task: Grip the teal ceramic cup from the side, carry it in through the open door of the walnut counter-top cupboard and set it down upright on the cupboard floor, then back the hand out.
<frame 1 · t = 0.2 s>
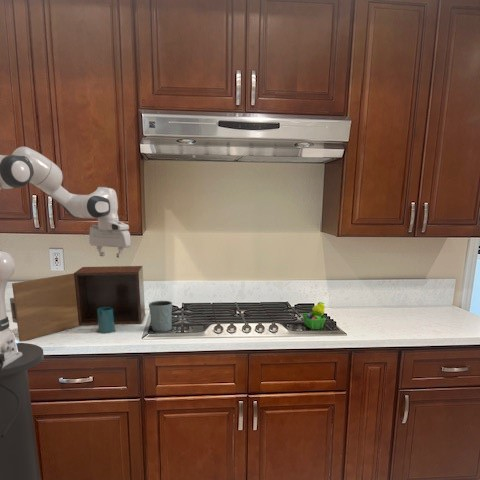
hand: (110, 256, 207), 31 cm above the kitchen counter, tool pointing down, fingers open, 8 cm apart
cup: (106, 330, 205), on the kitchen counter
cupboard door: (43, 305, 200), point 12 cm above the kitchen counter, hinge at 130.0°
fruit basket: (314, 327, 212), on the kitchen counter
cupboard: (113, 319, 223), on the kitchen counter
grey mug: (161, 329, 208), on the kitchen counter
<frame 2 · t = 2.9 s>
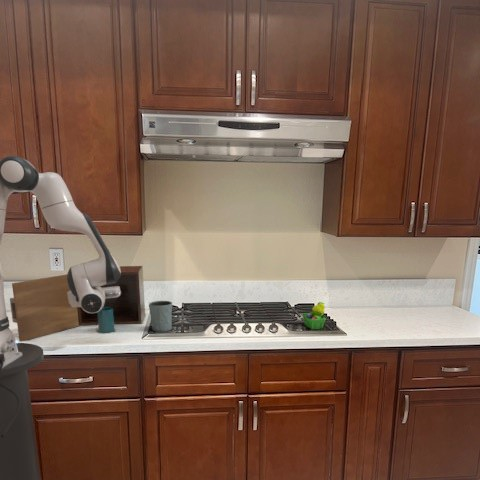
hand: (94, 291, 190), 20 cm above the kitchen counter, tool horizontal, fingers open, 8 cm apart
nothing on the kitchen counter moved.
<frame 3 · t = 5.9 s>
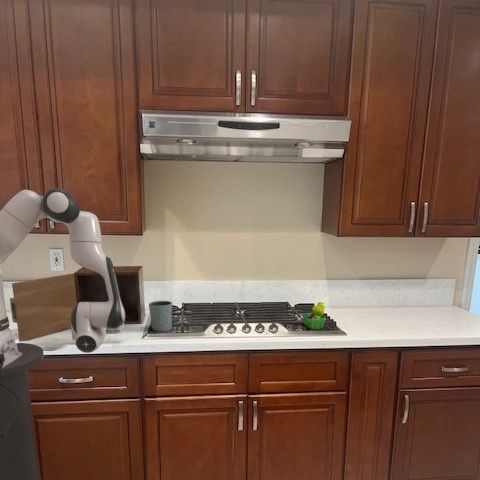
hand: (101, 322, 193), 7 cm above the kitchen counter, tool horizontal, fingers open, 8 cm apart
nothing on the kitchen counter moved.
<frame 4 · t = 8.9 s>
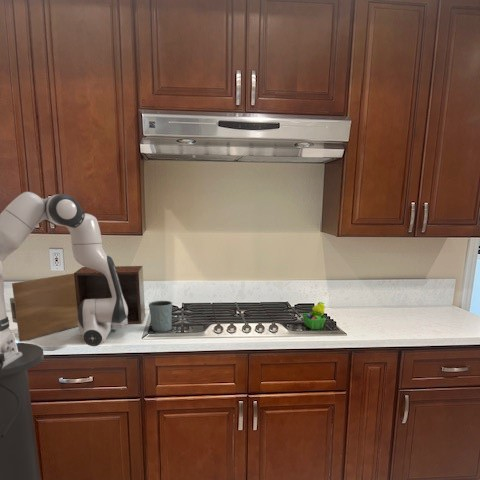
hand: (105, 318, 205), 6 cm above the kitchen counter, tool horizontal, fingers closed on cup, 7 cm apart
cup: (106, 330, 205), on the kitchen counter, touching gripper
everything else where it was.
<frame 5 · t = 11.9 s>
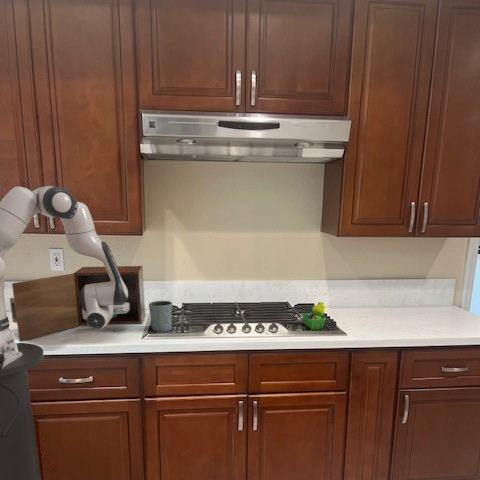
hand: (108, 304, 211), 10 cm above the kitchen counter, tool horizontal, fingers closed on cup, 7 cm apart
cup: (109, 316, 212), point 4 cm above the kitchen counter, touching gripper
everything else where it was.
when the fingers open (7 cm above the kitchen counter, at t = 15.2 s): cup stays where it is, resting on cupboard.
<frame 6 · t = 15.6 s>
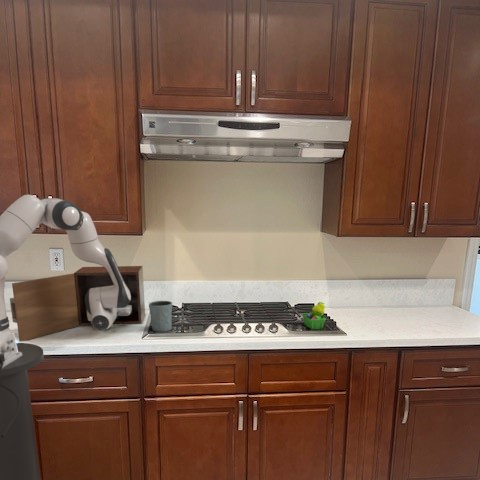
hand: (111, 306, 220), 7 cm above the kitchen counter, tool horizontal, fingers open, 8 cm apart
cup: (112, 318, 221), point 1 cm above the kitchen counter, touching cupboard
everything else where it was.
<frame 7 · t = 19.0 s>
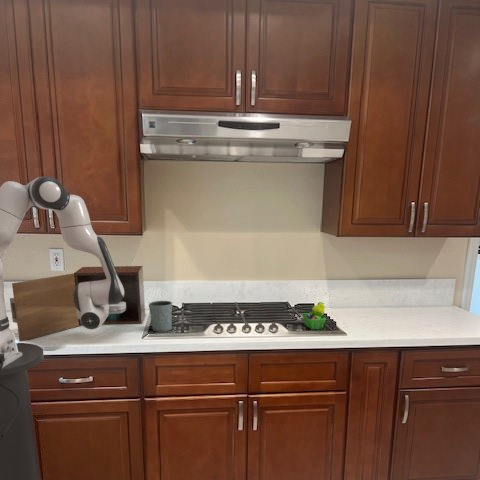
hand: (104, 303, 202), 12 cm above the kitchen counter, tool horizontal, fingers open, 8 cm apart
nothing on the kitchen counter moved.
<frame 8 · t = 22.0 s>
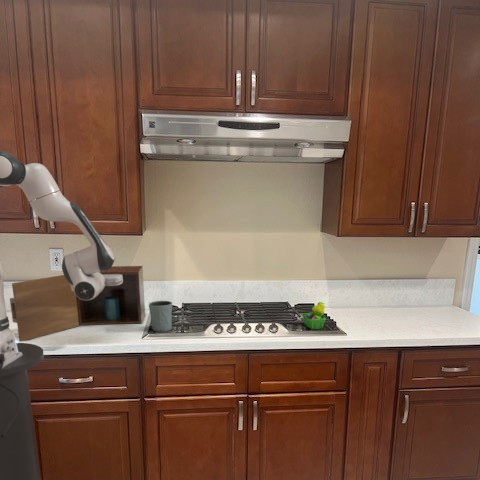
hand: (100, 276, 194), 25 cm above the kitchen counter, tool horizontal, fingers open, 8 cm apart
nothing on the kitchen counter moved.
at the end: cup inside the target area in the cupboard (1.9 cm from its centre), point 1.2 cm above the cupboard's base; cup tilted 0°; the gripper is holding nothing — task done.
